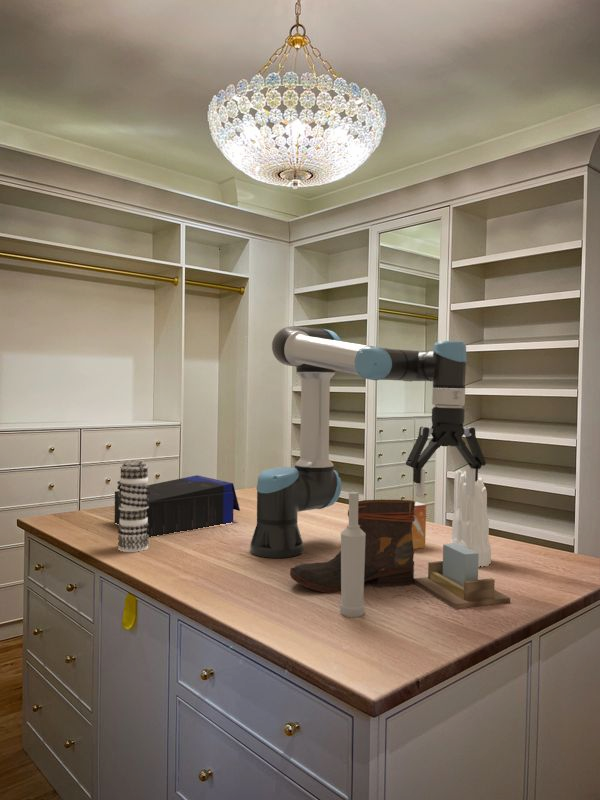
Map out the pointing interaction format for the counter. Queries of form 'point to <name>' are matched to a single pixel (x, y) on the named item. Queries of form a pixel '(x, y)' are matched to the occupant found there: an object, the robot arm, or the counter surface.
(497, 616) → the counter surface
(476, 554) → the light gray rectangular block
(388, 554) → the ankle boot
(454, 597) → the track sill
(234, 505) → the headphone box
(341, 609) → the bottle
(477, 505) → the decorative vase
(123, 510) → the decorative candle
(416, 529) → the small box
